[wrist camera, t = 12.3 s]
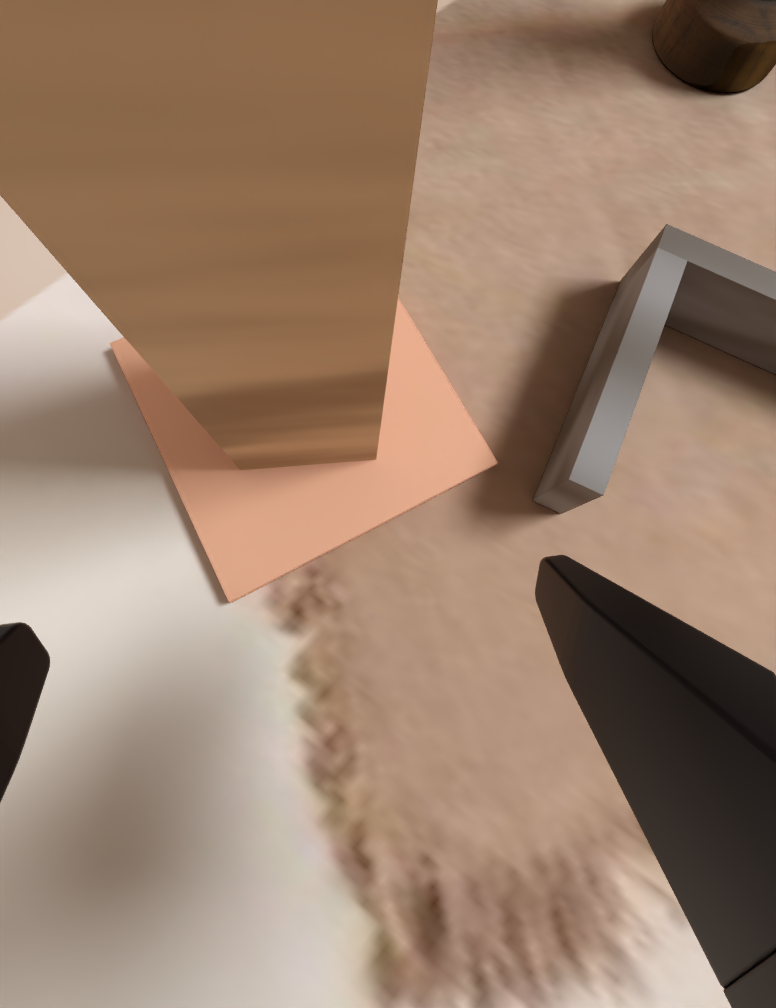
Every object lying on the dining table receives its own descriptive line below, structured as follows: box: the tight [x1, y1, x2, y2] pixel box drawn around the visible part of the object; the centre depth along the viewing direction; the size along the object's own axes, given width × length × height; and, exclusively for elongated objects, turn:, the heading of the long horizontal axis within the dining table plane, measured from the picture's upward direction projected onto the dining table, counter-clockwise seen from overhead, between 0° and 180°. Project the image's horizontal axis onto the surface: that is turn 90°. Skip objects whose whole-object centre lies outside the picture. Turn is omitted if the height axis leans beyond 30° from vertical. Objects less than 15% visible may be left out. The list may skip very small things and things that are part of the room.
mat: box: [110, 298, 498, 602], centre depth 17 cm, size 11×11×1 cm
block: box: [0, 0, 438, 470], centre depth 11 cm, size 5×5×13 cm
